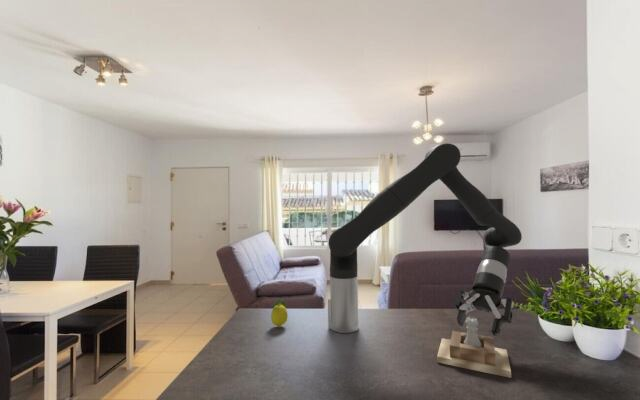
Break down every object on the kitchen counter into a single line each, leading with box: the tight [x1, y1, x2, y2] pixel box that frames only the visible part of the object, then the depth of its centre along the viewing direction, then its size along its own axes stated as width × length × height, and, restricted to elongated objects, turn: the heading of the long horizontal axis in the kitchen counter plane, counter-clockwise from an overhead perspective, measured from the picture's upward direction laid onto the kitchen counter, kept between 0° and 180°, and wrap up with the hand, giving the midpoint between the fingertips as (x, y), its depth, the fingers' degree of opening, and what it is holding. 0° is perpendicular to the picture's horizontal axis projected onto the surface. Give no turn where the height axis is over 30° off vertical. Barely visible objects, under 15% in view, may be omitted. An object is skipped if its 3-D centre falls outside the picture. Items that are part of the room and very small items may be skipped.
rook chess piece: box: [464, 316, 482, 347], centre depth 78 cm, size 4×4×8 cm
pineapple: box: [270, 299, 288, 328], centre depth 100 cm, size 7×6×10 cm
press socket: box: [436, 330, 512, 379], centre depth 77 cm, size 16×12×4 cm
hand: (476, 329), depth 79 cm, fingers open, 8 cm apart
